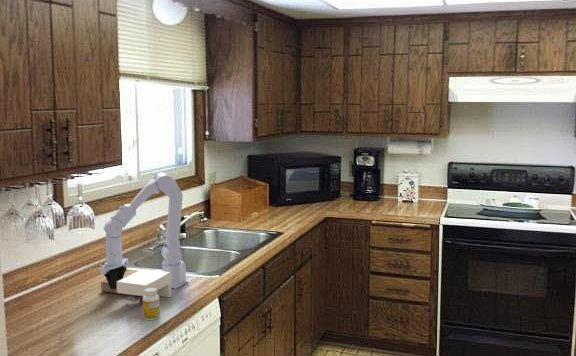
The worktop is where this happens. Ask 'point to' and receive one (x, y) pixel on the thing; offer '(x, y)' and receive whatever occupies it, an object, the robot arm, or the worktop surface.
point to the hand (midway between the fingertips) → (115, 287)
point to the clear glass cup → (132, 301)
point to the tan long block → (106, 287)
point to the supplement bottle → (151, 304)
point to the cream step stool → (146, 283)
